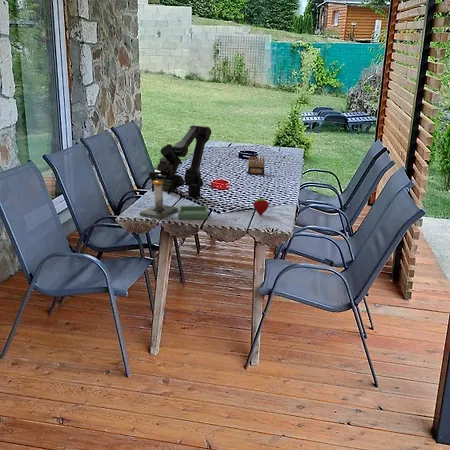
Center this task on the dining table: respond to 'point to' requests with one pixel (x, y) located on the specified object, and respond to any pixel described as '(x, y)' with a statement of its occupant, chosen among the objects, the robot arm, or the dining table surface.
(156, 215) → the plate
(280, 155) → the dining table surface
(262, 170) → the ammunition clip
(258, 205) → the strawberry
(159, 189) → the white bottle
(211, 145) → the dining table surface
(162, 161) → the coffee jar
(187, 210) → the parts tray
